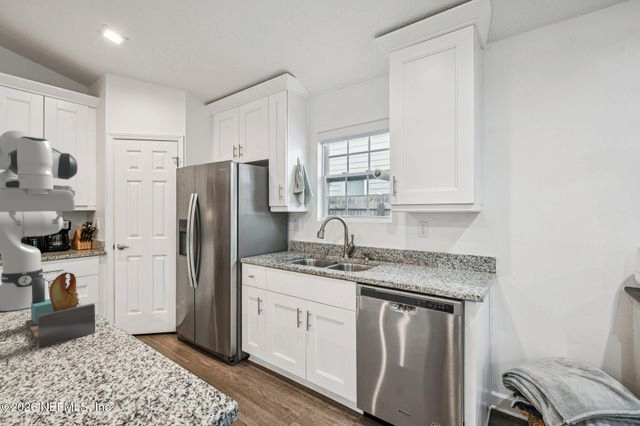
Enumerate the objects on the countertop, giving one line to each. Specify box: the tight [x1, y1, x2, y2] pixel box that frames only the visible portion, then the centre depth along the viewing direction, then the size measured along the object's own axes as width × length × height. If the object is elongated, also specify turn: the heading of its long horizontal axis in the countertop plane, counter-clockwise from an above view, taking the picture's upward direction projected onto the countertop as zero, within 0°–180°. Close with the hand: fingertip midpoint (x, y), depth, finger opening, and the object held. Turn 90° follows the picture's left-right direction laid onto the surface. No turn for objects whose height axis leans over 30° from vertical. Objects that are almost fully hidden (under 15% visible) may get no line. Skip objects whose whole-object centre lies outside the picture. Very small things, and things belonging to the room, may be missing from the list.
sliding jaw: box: [30, 277, 54, 325], centre depth 102 cm, size 7×10×14 cm
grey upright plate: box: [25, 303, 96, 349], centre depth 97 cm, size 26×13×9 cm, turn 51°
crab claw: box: [48, 271, 80, 311], centre depth 92 cm, size 7×5×20 cm
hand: (37, 225), depth 100 cm, fingers open, 8 cm apart
